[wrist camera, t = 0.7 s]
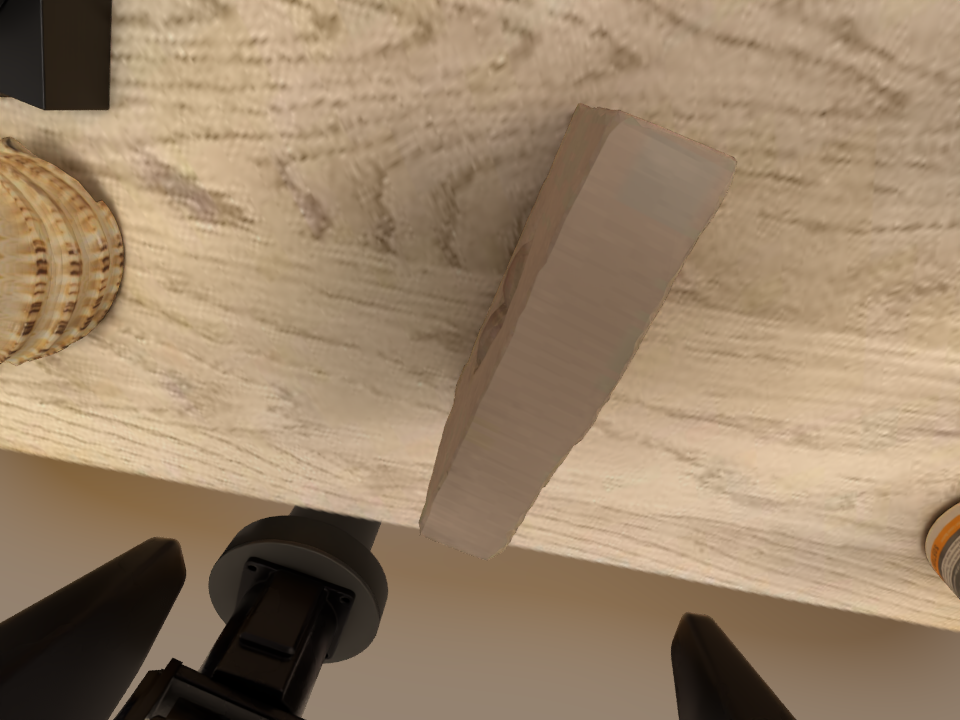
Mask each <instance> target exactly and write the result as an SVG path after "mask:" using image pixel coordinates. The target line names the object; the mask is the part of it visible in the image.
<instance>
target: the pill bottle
mask: <svg viewBox="0 0 960 720" xmlns="http://www.w3.org/2000/svg"><path fill="white" fill-rule="evenodd" d="M925 551H926V555H927V559H928V561H929V563H930V565H931V566H932V568H933V569H934V570H935V571H936V573H937V574H938V575H939V576H940V577H941V579H942V580H943V581H944V582H945V583H946V584H947V585H948V587H949V588H950V589H951V590H952V591H953V593H954V594H955V595H956V596H957V597H958V598H959V599H960V503H958V504H956V505H954V506H953V507H951V508H950V509H949V510H947V511H946V512H945V513H944V514H942V515H941V516H940V517H939V518H938V519H937V520H936V522H935V523H934V524H933V526H932V527H931V529H930V531H929V533H928V536H927V538H926V544H925Z"/></svg>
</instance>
